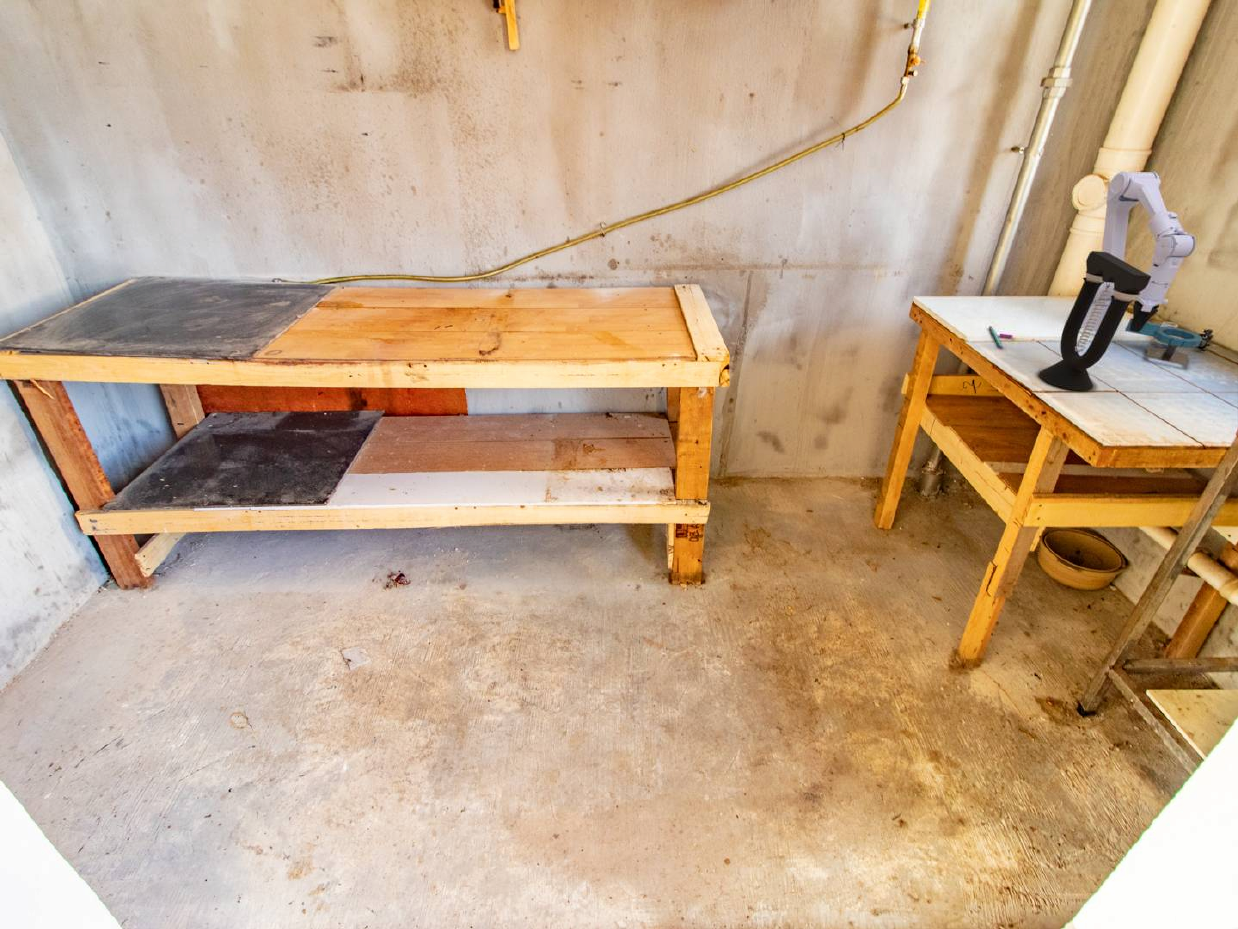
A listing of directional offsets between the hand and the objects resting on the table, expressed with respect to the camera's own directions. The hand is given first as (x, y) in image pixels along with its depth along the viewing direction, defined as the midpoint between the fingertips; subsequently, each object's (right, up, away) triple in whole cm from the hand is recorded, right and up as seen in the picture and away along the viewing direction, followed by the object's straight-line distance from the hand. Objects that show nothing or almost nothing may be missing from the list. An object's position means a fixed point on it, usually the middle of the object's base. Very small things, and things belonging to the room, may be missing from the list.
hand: (1134, 329), depth 181 cm
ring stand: (+8, -9, -1) cm, 11 cm away
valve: (+16, -4, +6) cm, 18 cm away
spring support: (-28, -15, -12) cm, 34 cm away
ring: (+5, -3, -3) cm, 6 cm away
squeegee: (-31, -1, +9) cm, 33 cm away
